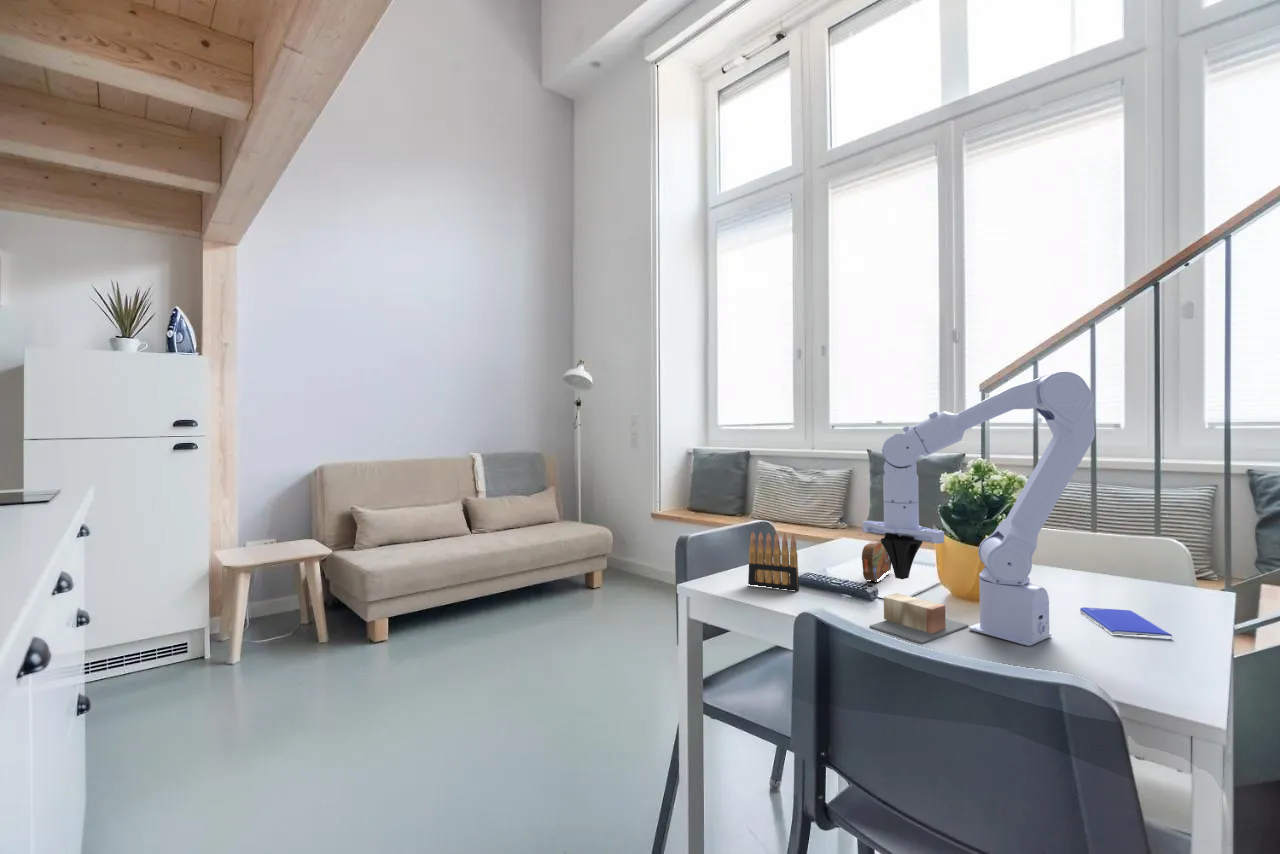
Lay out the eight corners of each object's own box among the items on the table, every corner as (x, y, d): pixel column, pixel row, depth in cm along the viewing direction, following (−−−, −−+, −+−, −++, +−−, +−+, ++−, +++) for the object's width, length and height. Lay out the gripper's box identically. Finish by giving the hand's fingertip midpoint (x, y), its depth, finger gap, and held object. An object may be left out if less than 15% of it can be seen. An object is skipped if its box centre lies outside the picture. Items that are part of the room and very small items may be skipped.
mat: (968, 626, 103) (968, 624, 103) (921, 643, 95) (921, 642, 95) (916, 612, 111) (916, 610, 111) (869, 627, 103) (869, 625, 103)
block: (897, 615, 108) (945, 628, 101) (883, 619, 106) (932, 633, 99) (897, 593, 108) (945, 605, 101) (883, 596, 106) (932, 609, 99)
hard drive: (1079, 606, 110) (1112, 629, 98) (1132, 610, 107) (1172, 633, 95) (1079, 615, 110) (1112, 638, 98) (1132, 618, 107) (1172, 643, 95)
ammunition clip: (748, 586, 130) (747, 531, 130) (750, 584, 132) (749, 530, 132) (797, 591, 125) (796, 535, 125) (799, 589, 127) (798, 533, 127)
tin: (874, 586, 129) (874, 547, 129) (859, 584, 131) (859, 546, 131) (892, 572, 141) (892, 536, 141) (879, 570, 143) (878, 535, 143)
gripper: (851, 499, 109) (852, 572, 109) (927, 507, 97) (928, 590, 97) (875, 496, 113) (876, 567, 113) (950, 503, 101) (951, 583, 101)
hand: (902, 577), depth 105 cm, fingers closed
